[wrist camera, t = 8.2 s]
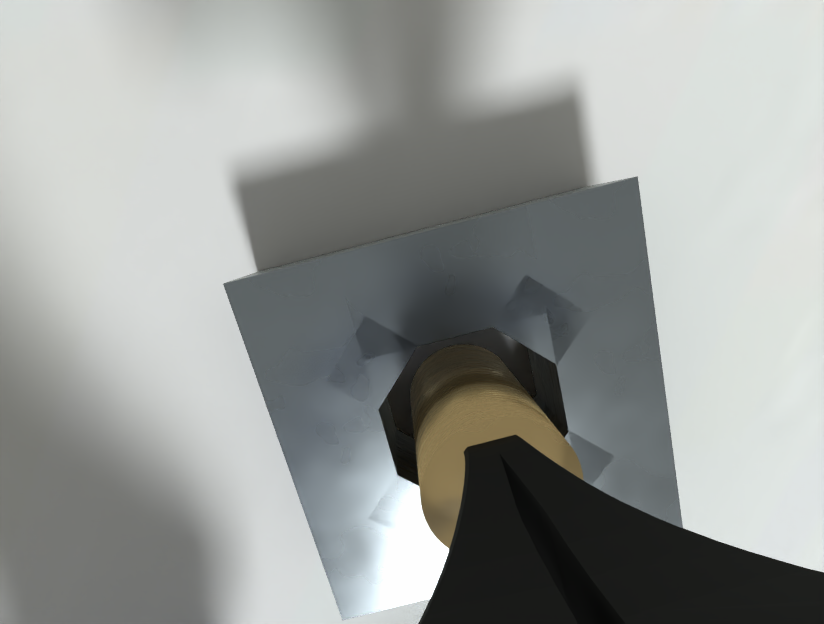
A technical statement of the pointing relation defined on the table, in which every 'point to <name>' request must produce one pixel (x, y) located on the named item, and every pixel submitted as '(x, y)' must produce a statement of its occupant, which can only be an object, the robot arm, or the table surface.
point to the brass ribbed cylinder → (470, 425)
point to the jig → (442, 319)
